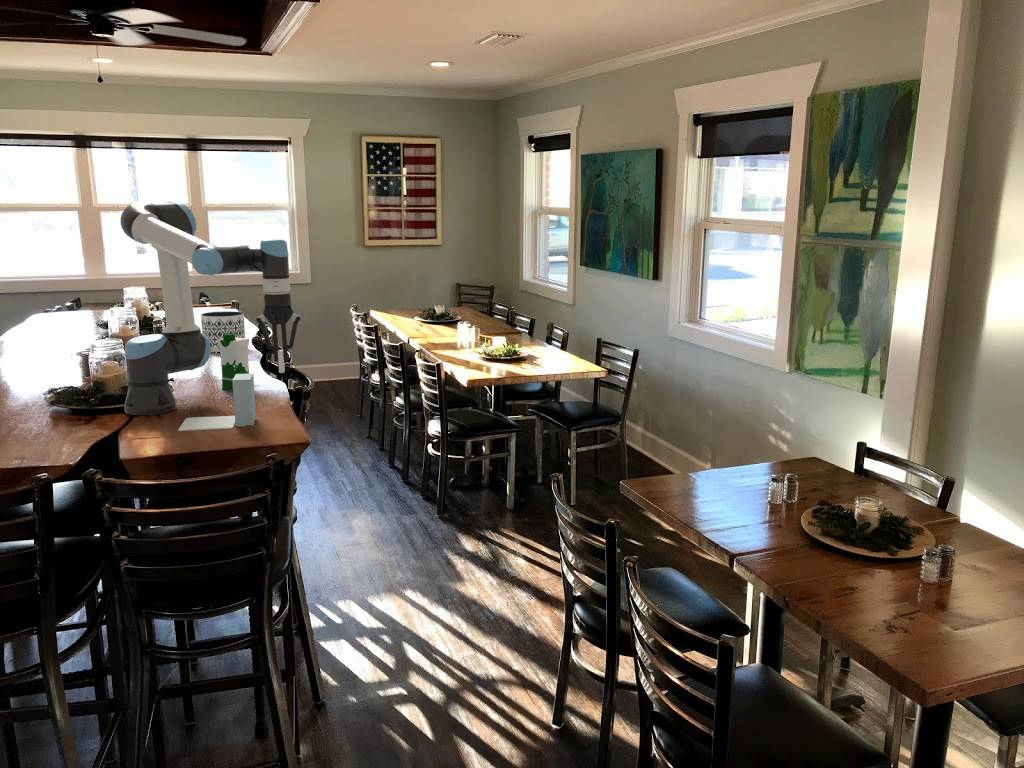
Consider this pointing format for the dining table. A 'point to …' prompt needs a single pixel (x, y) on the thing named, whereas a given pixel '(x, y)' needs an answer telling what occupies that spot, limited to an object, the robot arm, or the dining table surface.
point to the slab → (244, 399)
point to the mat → (208, 423)
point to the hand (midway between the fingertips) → (282, 371)
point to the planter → (222, 326)
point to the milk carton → (233, 358)
